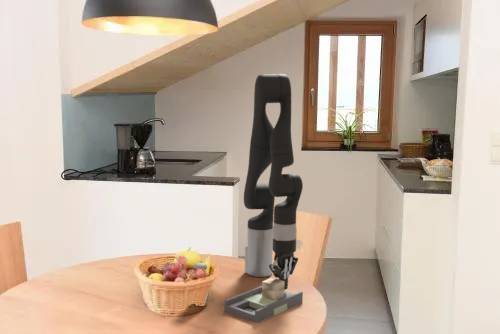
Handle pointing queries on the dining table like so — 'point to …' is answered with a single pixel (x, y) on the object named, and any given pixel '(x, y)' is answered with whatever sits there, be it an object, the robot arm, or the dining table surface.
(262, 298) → the trap lane
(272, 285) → the maple block
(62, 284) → the dining table surface
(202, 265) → the salt shaker
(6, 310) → the dining table surface
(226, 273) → the dining table surface
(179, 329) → the dining table surface
